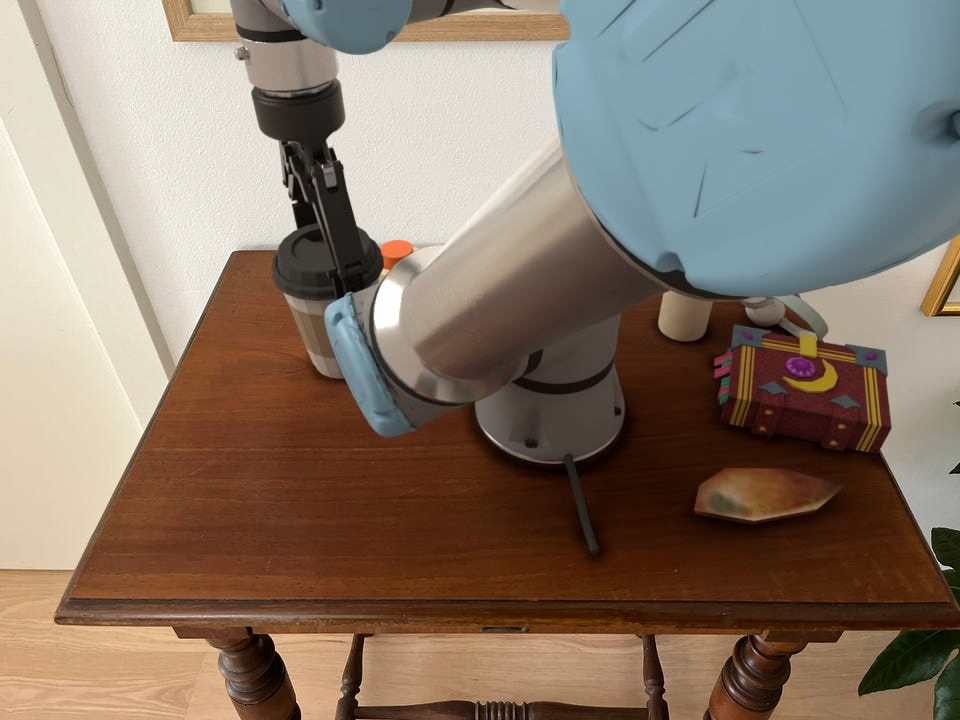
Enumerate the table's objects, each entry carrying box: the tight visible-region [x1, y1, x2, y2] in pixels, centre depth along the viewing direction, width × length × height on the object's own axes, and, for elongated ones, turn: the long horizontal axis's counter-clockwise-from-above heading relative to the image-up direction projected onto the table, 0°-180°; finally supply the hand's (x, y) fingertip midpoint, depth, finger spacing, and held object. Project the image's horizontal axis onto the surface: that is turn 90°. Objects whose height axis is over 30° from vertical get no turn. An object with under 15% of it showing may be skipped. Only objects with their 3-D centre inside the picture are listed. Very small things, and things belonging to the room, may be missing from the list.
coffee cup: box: [270, 223, 384, 380], centre depth 77 cm, size 11×11×15 cm
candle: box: [658, 291, 714, 342], centre depth 82 cm, size 6×6×10 cm
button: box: [380, 239, 414, 270], centre depth 89 cm, size 4×4×2 cm
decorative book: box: [713, 324, 893, 455], centre depth 74 cm, size 11×16×5 cm
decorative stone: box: [693, 467, 846, 525], centre depth 65 cm, size 14×6×3 cm, turn 84°
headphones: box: [739, 294, 829, 342], centre depth 85 cm, size 8×4×20 cm
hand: (334, 287), depth 75 cm, fingers open, 13 cm apart
